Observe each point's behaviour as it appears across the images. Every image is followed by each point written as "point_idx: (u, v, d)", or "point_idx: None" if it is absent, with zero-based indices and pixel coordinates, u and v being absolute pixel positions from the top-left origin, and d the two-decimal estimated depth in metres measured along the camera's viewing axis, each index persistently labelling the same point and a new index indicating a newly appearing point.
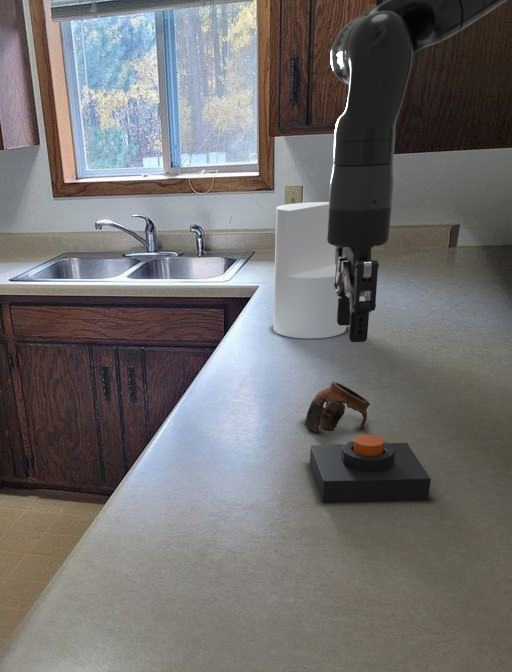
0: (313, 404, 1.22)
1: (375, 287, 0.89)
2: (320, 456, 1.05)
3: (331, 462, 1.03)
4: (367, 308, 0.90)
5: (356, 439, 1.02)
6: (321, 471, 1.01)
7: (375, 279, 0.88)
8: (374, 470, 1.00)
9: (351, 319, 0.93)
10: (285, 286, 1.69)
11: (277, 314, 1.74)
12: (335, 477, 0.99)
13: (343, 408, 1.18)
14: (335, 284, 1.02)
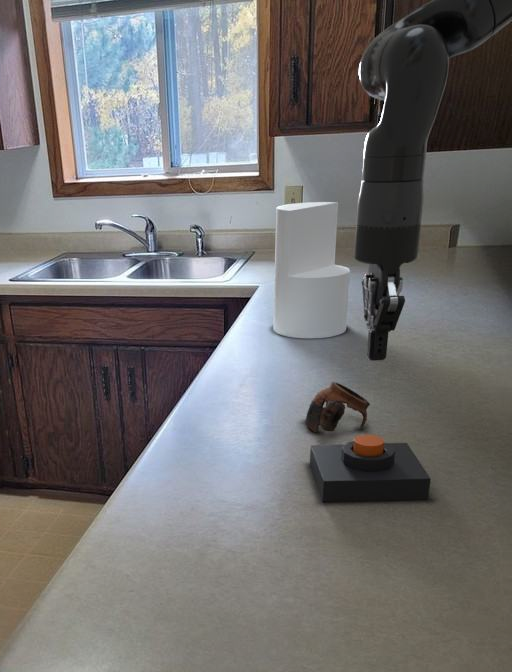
0: (313, 404, 1.22)
1: (397, 318, 0.90)
2: (320, 456, 1.05)
3: (331, 462, 1.03)
4: (387, 328, 0.92)
5: (356, 439, 1.02)
6: (321, 471, 1.01)
7: (399, 313, 0.89)
8: (374, 470, 1.00)
9: (371, 338, 0.95)
10: (285, 286, 1.69)
11: (277, 313, 1.74)
12: (335, 477, 0.99)
13: (343, 408, 1.18)
14: (365, 314, 0.97)
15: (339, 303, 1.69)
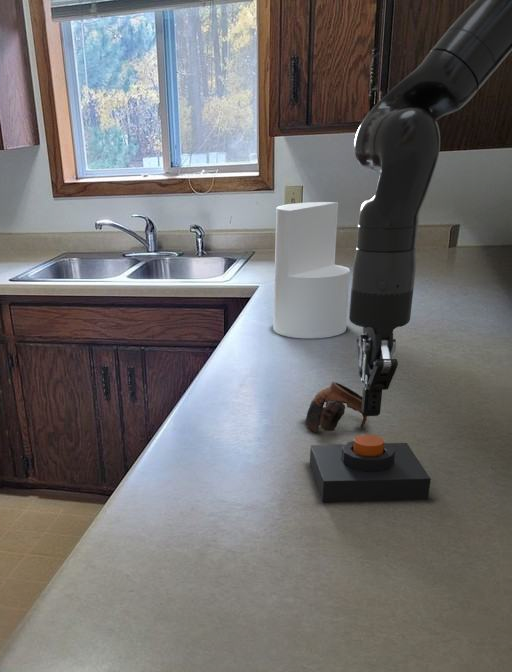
0: (313, 404, 1.22)
1: (391, 379, 0.93)
2: (320, 456, 1.05)
3: (331, 462, 1.03)
4: (381, 387, 0.95)
5: (356, 439, 1.02)
6: (321, 471, 1.01)
7: (392, 374, 0.92)
8: (374, 470, 1.00)
9: (365, 395, 0.98)
10: (285, 286, 1.69)
11: (277, 313, 1.74)
12: (335, 477, 0.99)
13: (343, 408, 1.18)
14: (360, 371, 1.00)
15: (339, 303, 1.69)
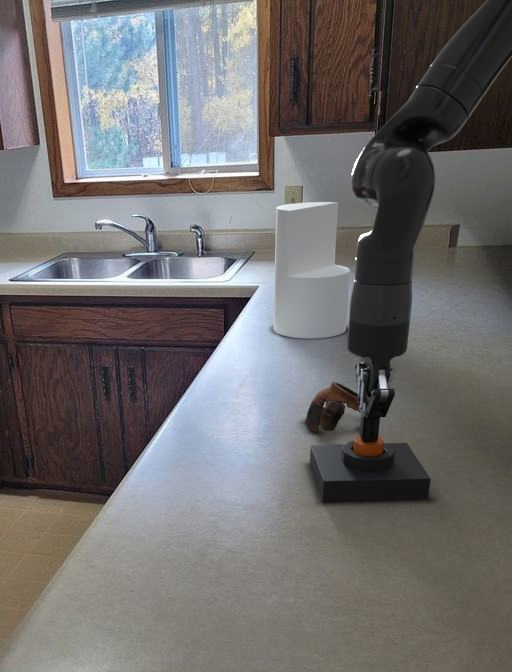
0: (313, 404, 1.22)
1: (388, 407, 0.95)
2: (320, 456, 1.05)
3: (331, 462, 1.03)
4: (378, 415, 0.97)
5: (356, 439, 1.02)
6: (321, 471, 1.01)
7: (389, 403, 0.94)
8: (374, 470, 1.00)
9: (363, 422, 1.00)
10: (285, 286, 1.69)
11: (277, 313, 1.74)
12: (335, 477, 0.99)
13: (343, 408, 1.18)
14: (358, 398, 1.02)
15: (339, 303, 1.69)
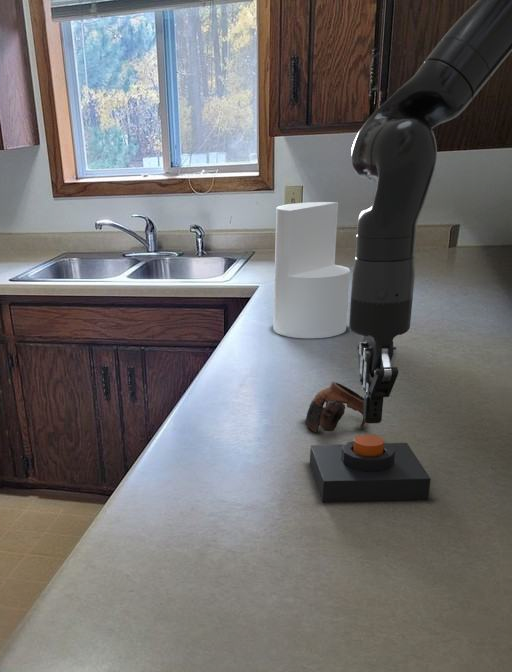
0: (313, 404, 1.22)
1: (391, 387, 0.94)
2: (320, 456, 1.05)
3: (331, 462, 1.03)
4: (382, 395, 0.96)
5: (356, 439, 1.02)
6: (321, 471, 1.01)
7: (393, 382, 0.93)
8: (374, 470, 1.00)
9: (366, 403, 0.99)
10: (285, 286, 1.69)
11: (277, 313, 1.74)
12: (335, 477, 0.99)
13: (343, 408, 1.18)
14: (361, 378, 1.01)
15: (339, 303, 1.69)
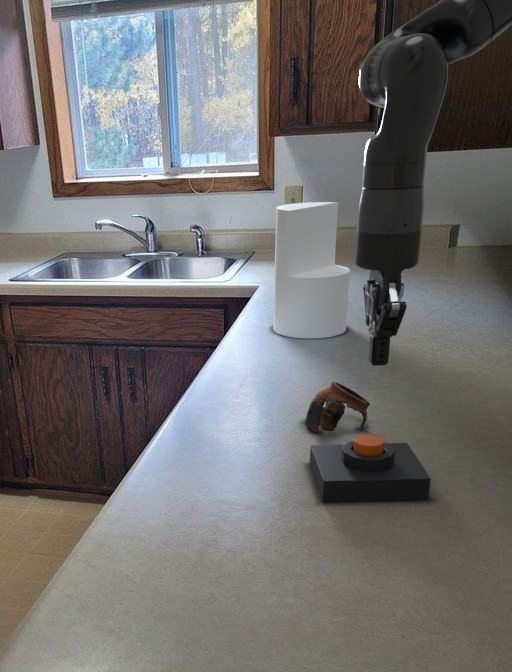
0: (313, 404, 1.22)
1: (399, 323, 0.90)
2: (320, 456, 1.05)
3: (331, 462, 1.03)
4: (389, 333, 0.92)
5: (356, 439, 1.02)
6: (321, 471, 1.01)
7: (400, 318, 0.90)
8: (374, 470, 1.00)
9: (373, 343, 0.96)
10: (285, 286, 1.69)
11: (277, 313, 1.74)
12: (335, 477, 0.99)
13: (343, 408, 1.18)
14: (367, 319, 0.97)
15: (339, 303, 1.69)
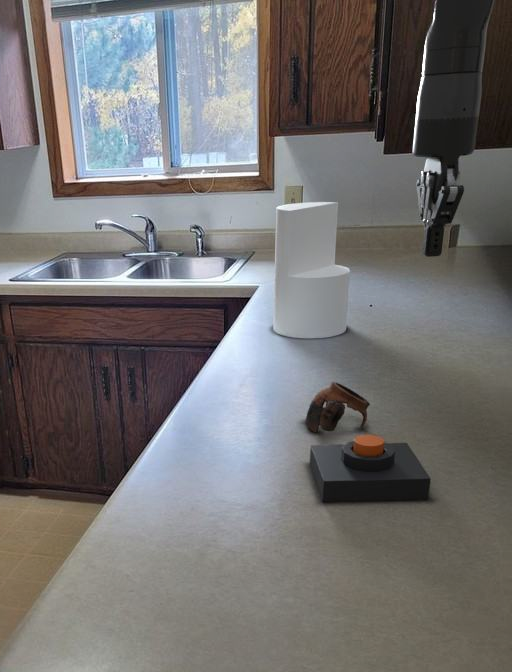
0: (313, 404, 1.22)
1: (455, 209, 0.94)
2: (320, 456, 1.05)
3: (331, 462, 1.03)
4: (444, 221, 0.96)
5: (356, 439, 1.02)
6: (321, 471, 1.01)
7: (457, 203, 0.93)
8: (374, 470, 1.00)
9: (427, 234, 0.99)
10: (285, 286, 1.69)
11: (277, 313, 1.74)
12: (335, 477, 0.99)
13: (343, 408, 1.18)
14: (421, 213, 1.01)
15: (339, 303, 1.69)
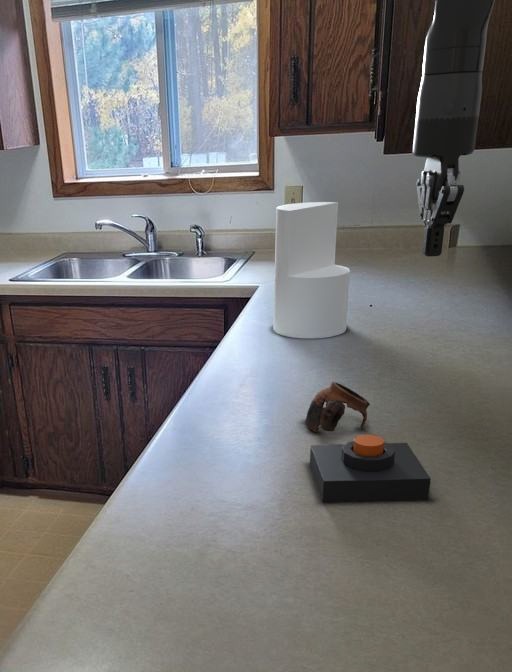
0: (313, 404, 1.22)
1: (455, 208, 0.94)
2: (320, 456, 1.05)
3: (331, 462, 1.03)
4: (444, 221, 0.96)
5: (356, 439, 1.02)
6: (321, 471, 1.01)
7: (457, 203, 0.93)
8: (374, 470, 1.00)
9: (427, 234, 0.99)
10: (285, 286, 1.69)
11: (277, 313, 1.74)
12: (335, 477, 0.99)
13: (343, 408, 1.18)
14: (421, 213, 1.01)
15: (339, 303, 1.69)
